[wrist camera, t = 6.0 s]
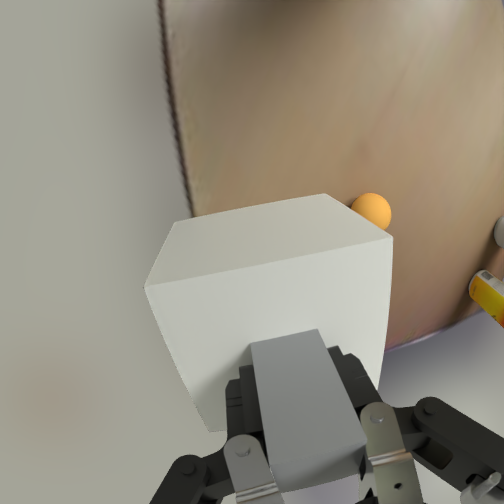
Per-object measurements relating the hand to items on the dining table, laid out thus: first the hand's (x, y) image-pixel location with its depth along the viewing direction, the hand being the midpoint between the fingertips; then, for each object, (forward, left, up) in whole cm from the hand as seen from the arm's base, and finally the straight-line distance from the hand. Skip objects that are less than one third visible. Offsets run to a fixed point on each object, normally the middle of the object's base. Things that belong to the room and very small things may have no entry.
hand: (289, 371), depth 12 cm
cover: (0, 0, -10) cm, 10 cm away
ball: (+2, +14, -21) cm, 26 cm away
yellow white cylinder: (+20, +40, -24) cm, 51 cm away
